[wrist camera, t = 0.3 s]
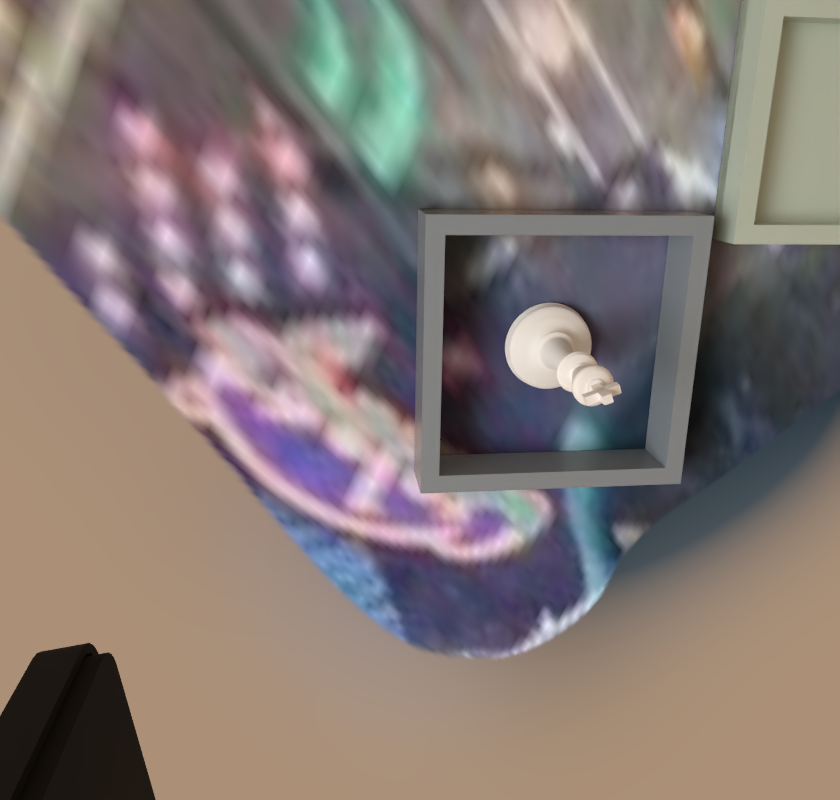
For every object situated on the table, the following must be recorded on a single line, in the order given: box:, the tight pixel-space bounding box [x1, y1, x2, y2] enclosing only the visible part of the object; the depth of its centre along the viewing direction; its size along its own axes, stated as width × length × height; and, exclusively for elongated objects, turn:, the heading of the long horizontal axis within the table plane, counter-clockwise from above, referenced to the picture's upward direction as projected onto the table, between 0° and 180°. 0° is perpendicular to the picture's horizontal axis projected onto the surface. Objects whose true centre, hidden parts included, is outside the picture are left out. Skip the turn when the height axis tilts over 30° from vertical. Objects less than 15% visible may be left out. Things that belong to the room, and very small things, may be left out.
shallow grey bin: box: [414, 209, 715, 493], centre depth 44 cm, size 15×15×3 cm
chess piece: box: [505, 303, 622, 406], centre depth 41 cm, size 5×5×10 cm
